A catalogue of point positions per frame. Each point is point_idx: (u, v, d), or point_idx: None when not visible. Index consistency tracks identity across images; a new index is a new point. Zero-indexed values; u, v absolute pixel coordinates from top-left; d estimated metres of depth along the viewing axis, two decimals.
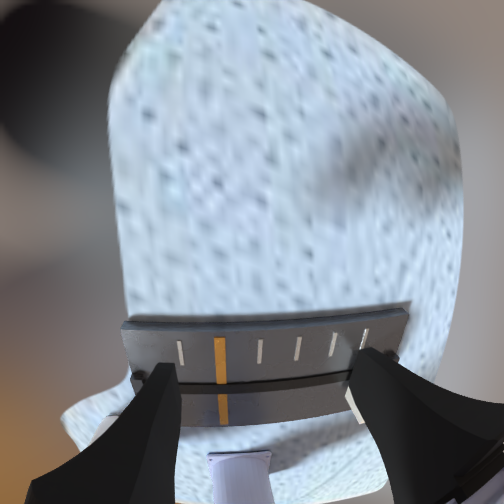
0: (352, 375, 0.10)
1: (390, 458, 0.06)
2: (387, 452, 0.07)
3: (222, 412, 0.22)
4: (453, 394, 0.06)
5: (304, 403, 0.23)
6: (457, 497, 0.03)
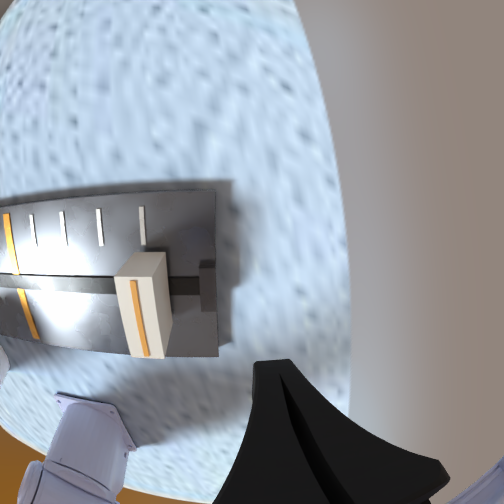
0: None
1: None
2: None
3: (29, 319, 0.17)
4: (361, 431, 0.05)
5: (99, 323, 0.17)
6: None
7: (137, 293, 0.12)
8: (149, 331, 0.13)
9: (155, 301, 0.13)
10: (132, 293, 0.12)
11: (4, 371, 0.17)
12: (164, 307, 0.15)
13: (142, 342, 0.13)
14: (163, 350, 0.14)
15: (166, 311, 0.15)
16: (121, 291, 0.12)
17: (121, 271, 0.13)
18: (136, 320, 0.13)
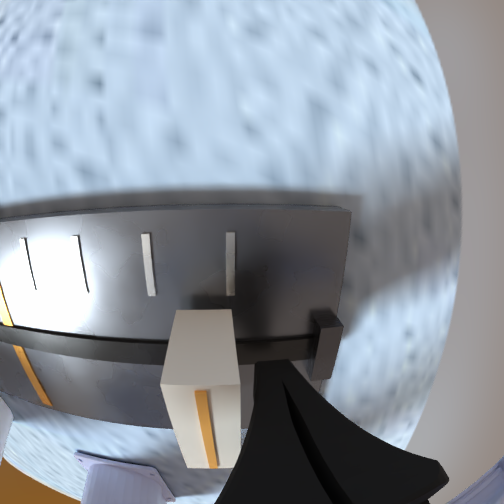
0: None
1: None
2: None
3: (34, 382, 0.11)
4: (359, 431, 0.05)
5: (145, 397, 0.11)
6: None
7: (208, 408, 0.06)
8: (223, 445, 0.07)
9: None
10: (198, 406, 0.06)
11: (8, 426, 0.12)
12: None
13: (208, 456, 0.07)
14: None
15: None
16: (175, 404, 0.06)
17: (170, 367, 0.07)
18: (203, 437, 0.07)
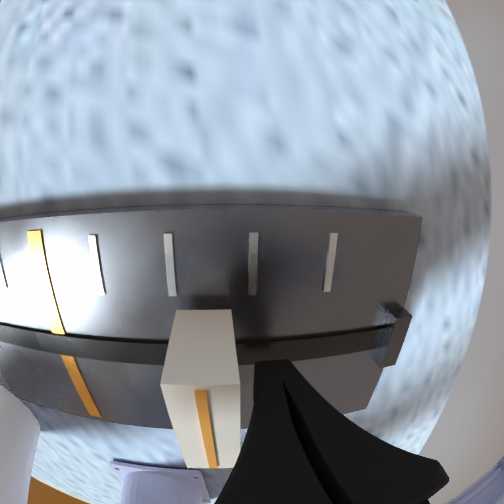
0: None
1: None
2: None
3: (83, 393, 0.11)
4: (359, 431, 0.05)
5: None
6: None
7: (208, 408, 0.06)
8: (223, 445, 0.07)
9: (239, 412, 0.07)
10: (198, 406, 0.06)
11: (36, 438, 0.12)
12: None
13: (208, 456, 0.07)
14: None
15: None
16: (176, 404, 0.06)
17: (170, 367, 0.07)
18: (203, 438, 0.07)
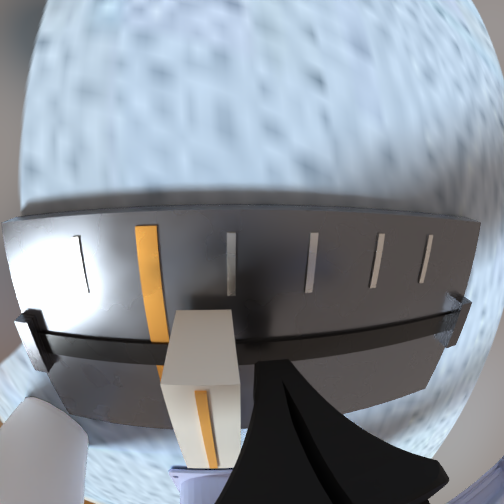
0: None
1: None
2: None
3: None
4: (359, 431, 0.05)
5: (321, 389, 0.13)
6: None
7: (208, 408, 0.06)
8: (224, 445, 0.07)
9: None
10: (198, 406, 0.06)
11: (86, 454, 0.13)
12: None
13: (208, 456, 0.07)
14: None
15: None
16: (176, 404, 0.06)
17: (170, 367, 0.07)
18: (203, 438, 0.07)
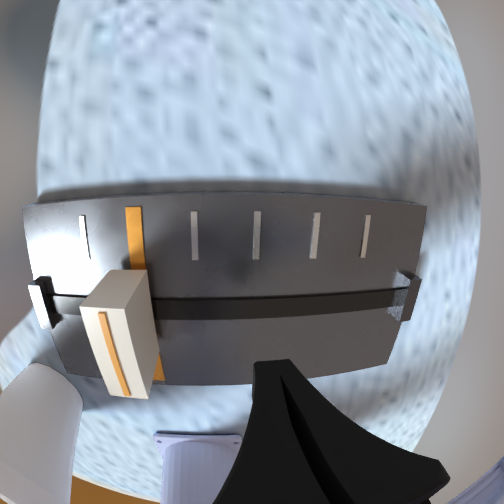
0: None
1: None
2: None
3: None
4: (361, 431, 0.05)
5: (278, 350, 0.16)
6: None
7: (107, 328, 0.09)
8: (128, 370, 0.10)
9: (131, 337, 0.10)
10: (103, 327, 0.09)
11: (79, 416, 0.16)
12: (146, 338, 0.12)
13: (120, 381, 0.10)
14: (146, 390, 0.11)
15: (149, 341, 0.12)
16: (89, 324, 0.09)
17: (89, 298, 0.09)
18: (111, 358, 0.10)
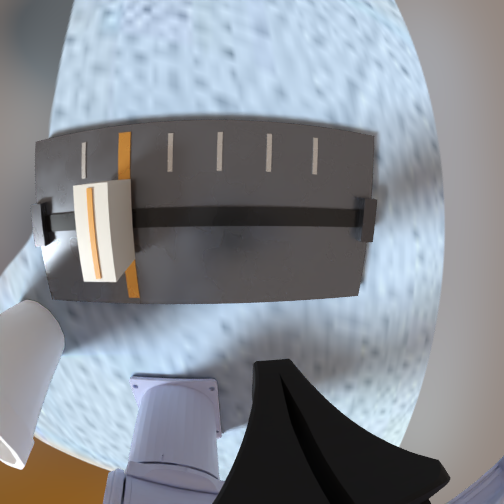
0: None
1: None
2: None
3: (129, 270, 0.17)
4: (361, 431, 0.05)
5: (243, 264, 0.18)
6: None
7: (92, 201, 0.11)
8: (102, 246, 0.12)
9: (109, 210, 0.12)
10: (88, 202, 0.11)
11: (59, 353, 0.18)
12: (123, 230, 0.14)
13: (94, 262, 0.12)
14: (115, 271, 0.13)
15: (125, 237, 0.14)
16: (78, 201, 0.11)
17: (82, 184, 0.12)
18: (89, 233, 0.12)
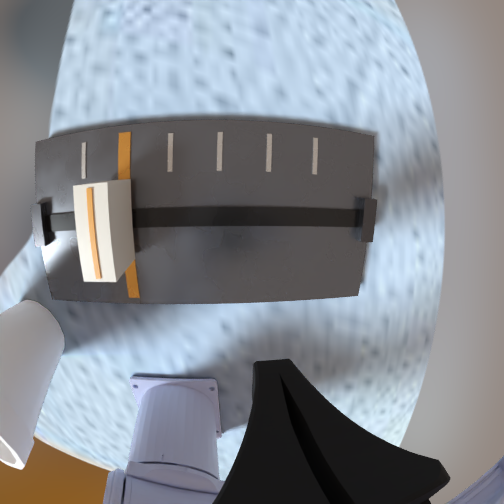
0: None
1: None
2: None
3: (129, 270, 0.17)
4: (361, 431, 0.05)
5: (243, 264, 0.18)
6: None
7: (92, 201, 0.11)
8: (102, 246, 0.12)
9: (109, 210, 0.12)
10: (88, 202, 0.11)
11: (59, 354, 0.18)
12: (123, 230, 0.14)
13: (94, 262, 0.12)
14: (115, 271, 0.13)
15: (125, 237, 0.14)
16: (78, 201, 0.11)
17: (82, 184, 0.12)
18: (89, 233, 0.12)
